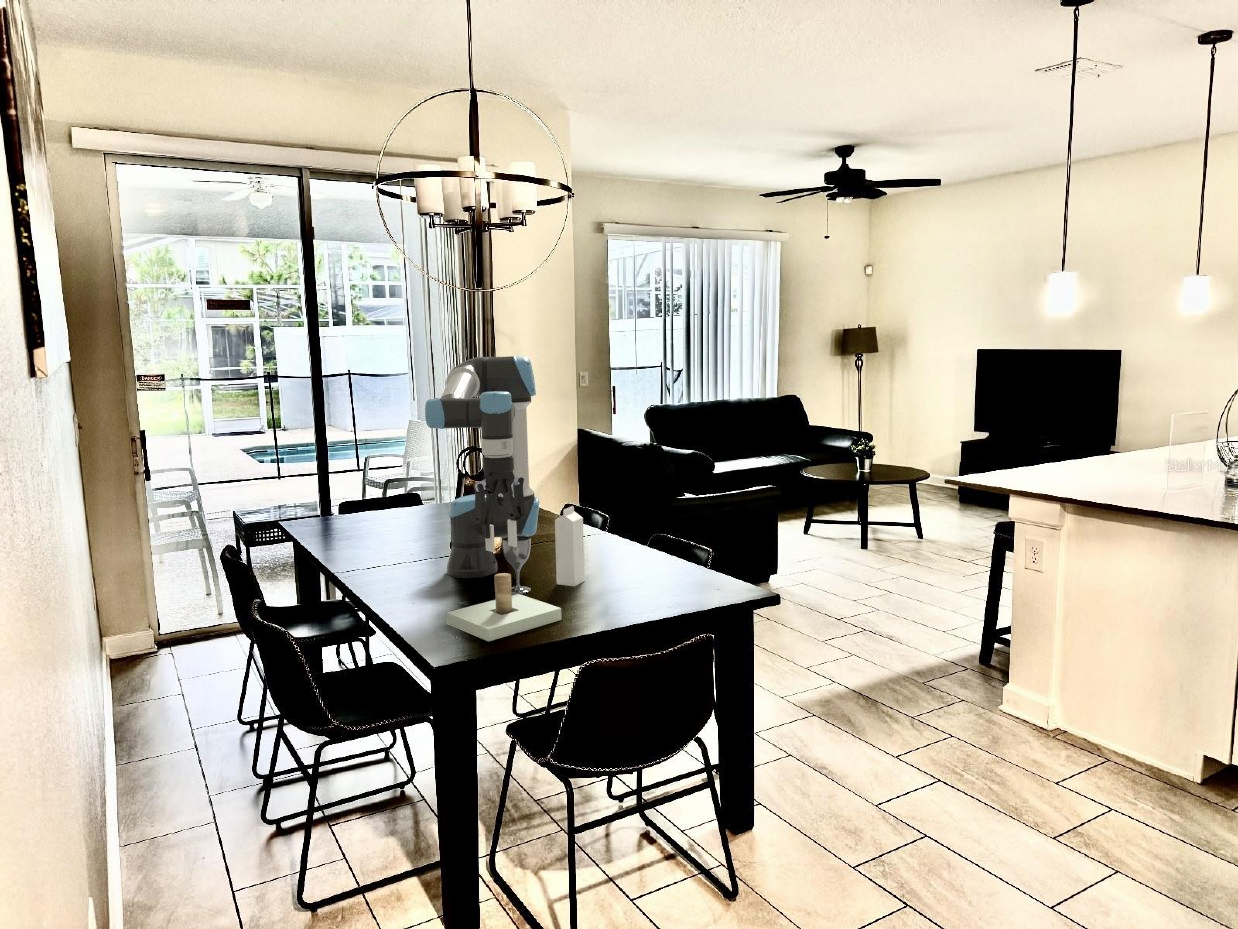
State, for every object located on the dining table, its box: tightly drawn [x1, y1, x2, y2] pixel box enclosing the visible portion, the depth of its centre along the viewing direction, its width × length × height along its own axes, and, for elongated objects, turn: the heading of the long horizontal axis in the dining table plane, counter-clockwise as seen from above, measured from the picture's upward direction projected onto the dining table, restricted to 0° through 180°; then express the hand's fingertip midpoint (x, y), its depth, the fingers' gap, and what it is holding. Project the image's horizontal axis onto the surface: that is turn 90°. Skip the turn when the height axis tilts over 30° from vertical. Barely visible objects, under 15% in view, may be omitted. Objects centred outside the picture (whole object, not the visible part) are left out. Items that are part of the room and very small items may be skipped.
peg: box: [494, 572, 513, 615], centre depth 218 cm, size 4×4×12 cm
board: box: [446, 594, 562, 642], centre depth 219 cm, size 18×22×3 cm
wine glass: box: [501, 535, 532, 595], centre depth 245 cm, size 8×8×15 cm
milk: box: [554, 505, 585, 587], centre depth 251 cm, size 6×6×22 cm
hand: (501, 548), depth 216 cm, fingers open, 6 cm apart
